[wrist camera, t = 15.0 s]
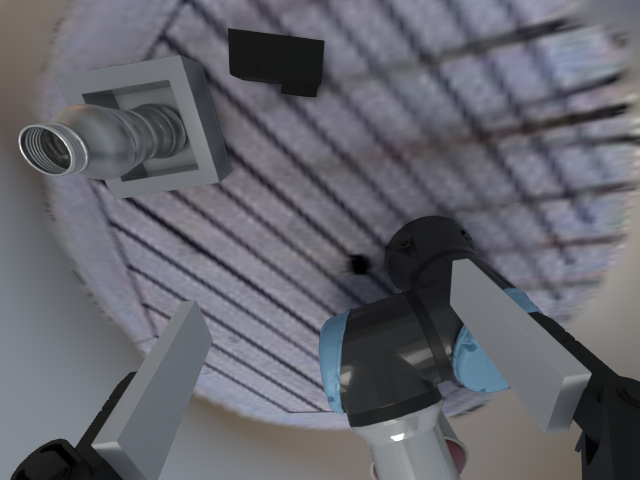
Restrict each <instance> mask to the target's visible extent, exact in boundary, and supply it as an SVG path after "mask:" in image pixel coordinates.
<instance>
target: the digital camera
mask: <svg viewBox="0 0 640 480" xmlns="http://www.w3.org/2000/svg"><path fill="white" fill-rule="evenodd" d="M228 41H229V69H230V74H231V75H232V76H235V77H237V78H239V79H242V80H247V81H255V82H264V83H273V84H281V93H283V94H289V95H297V96H307V97H317V88H318V87H319V86H320V84H321V76H322V64H323V53H324V41H323V40H315V39H307V38H300V37H292V36H284V35H277V34H269V33H261V32H253V31H245V30H237V29H229V28H228Z"/></svg>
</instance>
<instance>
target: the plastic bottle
mask: <svg viewBox="0 0 640 480" xmlns="http://www.w3.org/2000/svg"><path fill="white" fill-rule="evenodd" d="M185 141H186V132H185V128H184V125H183V123H182V121H181V120H180V118H179V117H178V116H177V115H176V114H175V113H174V112H173V111H172V110H170V109H168V108H166V107H164V106H161V105H158V104H155V103H147V104H143V105H139V106H137V107H135V108H133V109H128V110H119V109H111V108H106V107H101V106H97V105H90V104H74V105H71V106H69V107H66V108H65V109H63V110H61V111H60V112H59V113H57V114H56V115H55V117H54V119H53V120H52V122H45V123H42V124H32V125H28V126H26V127H24V128H23V129H22V130H21V132H20V133H19V137H18V144H19V148H20V151H21V153H22V154H23V156H24V158H25V159H26V160H27V162H29V164H30V165H31V166H33V167H34V168H35V169H37V170H38V171H40V172H42V173H44V174H47V175H51V176H63V175H67V174H77V173H79V174H81V175H84V176H86V177H89V178H93V179H104V180H111V179H116V178H118V177H121V176H123V175H125V174H126V173H128V172H129V171H130V170H131V169H133V168H134V167H136V166H137V165H138V164H140V163H142V162H145V161H147V160H150V159H165V158H171V157H173V156H175V155H176V154H178V153H179V152H180V150H181V149H182V148H183V146H184V144H185Z"/></svg>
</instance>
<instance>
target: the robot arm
mask: <svg viewBox="0 0 640 480" xmlns="http://www.w3.org/2000/svg"><path fill="white" fill-rule="evenodd" d="M385 266H386V270H387V272H388V274H389V276H390V278H391V280H392V282H393V283H394V284H395V286H396V287H397V288H399V289H400V290H401V291H403V292H402V293H399V294H396V295H394V296H391V297H388V298H385V299H382V300H379V301H376V302H373V303H370V304H367V305H365V306H362V307H359V308H356V309H352V308H351V309H348V310H347V312H345V313H342V314H340V315H337V316H335V317H332V318H330V319H328V320H327V321H326V322H325V323H324V325H323V326H322V329H321V332H320V338H319V361H320V370H321V376H322V382H323V386H324V390H325V393H326V395H327V397H328V402H329V405H330V407H331V408H332V410H333V411H334V412H336V413H340V414H344V413H346V414H347V417H348V420H349V424H350V428H351V430H352V431H354V432H355V433H357V434H358V435H360V436H361V437H363V438H364V439H365V440H366V441H367V442H368V445H369V448H370V451H371V455H372V458H373V462H374V465H375V469H376V472H377V476H378V479H379V480H461V478H460V476H459V473H458V471H457V468H456V466H455V463H454V461H453V458H452V456H451V453H450V451H449V448H448V446H447V443H446V441H445V438H444V436H443V433H442V431H441V428H440V426H439V423H438V416H439V413H440V410H441V408H442V405H443V399H442V397H441V394H440V392H439V389H438V387H437V384H438V383H440V382H444V381H447V380H450V379H454V378H456V379H457V380H458V381H459V382H460V383H461V384H463V385H464V386H465V387H466V388H468V389H470V390H472V391H475V392H479V391H481V392H484V393H490V392H496V391H500V390H503V389H506V388H508V387H511V388H512V390H513V391H514V392H515V394H516V395H517V396H518V398H519V399H520V400H521V402H522V403H523V405H524V406H525V407H526V409H527V410H528V411H529V413H530V414H531V416H532V417H533V418H534V419H535V421H536V422H537V424H538V425H539V426H540V427H541V429H542V431H543V432H544V433H545V434H547V433H554V432H562V431H568V430H569V428H570V425H571V423H572V421H573V419H574V421H575V422H576V423H577V424H578V425H579V426H580V428H581V429H582V430H583V431H582V434H581V436H580V438H579V440H578V442H577V445H576V448H575V451H577V452H580V450H581V457H582V480H640V382H639V381H637V380H634V379H631V378H627V377H622V376H619V375H617V374H616V373H615V372H614V371H612V370H611V369H610V368H609V367H608V366H607V365H605V364H604V363H603V362H602V361H601V360H599V359H598V358H597V357H596V356H595V355H594V354H593V353H591V352H590V351H589V350H588V349H587V348H585V347H584V346H583V345H582V344H581V343H580V342H579V341H576V340H575V338H574V337H573V336H572V335H570V334H569V333H568V332H565V329H563V328H562V327H561V326H560V325H559V324H558V323H556V322H555V321H554V320H553V319H551V318H549V317H547V316H545V315H544V314H543V313H542V311H541V310H540V309H539V308H538V307H537V306H536V305H535V304H534V303H533V302H532V301H531V300H530V299H529V298H528V296H527V295H526V294H525V293H524V292H523V291H521V290H519V289H517V288H516V287H515V286H514V285H513V284H511V283H510V282H509V281H508V280H507V279H505V278H504V277H503V276H502V275H501V274H500V273H498V272H497V271H496V270H495V269H494V268H492V267H491V266H490V265H489V264H488V263H486V262H485V261H484V260H483V259H482V258H480V257H479V255H478V253H477V250H476V248H475V246H474V243H473V241H472V238H471V237H470V235H469V234H468V232H467V231H466V230H465V229H464V228H462V227H461V226H460V225H459V224H457V223H456V222H454V221H453V220H450V219H448V218H445V217H439V216H430V217H424V218H420V219H417V220H415V221H413V222H411V223H409V224H407V225H406V226H404V227H403V228H402V229H400V230H399V231H398V232H397V233H396V234H395V236H394V237H393V238H392V240H391V241H390V243H389V245H388V247H387V250H386V254H385ZM212 341H213V339H212V336H211V334H210V332H209V329H208V327H207V325H206V322H205V320H204V318H203V315H202V313H201V311H200V308H199V306H198V304H197V301H196V300H193V301H187V302H181V303H180V305H179V307H178V308H177V310H176V311H175V313H174V315H173V316H172V318H171V319H170V321H169V322H168V324H167V326H166V327H165V329H164V330H163V332H162V334H161V335H160V337H159V338H158V340H157V341H156V343H155V345H154V346H153V348H152V349H151V351H150V353H149V354H148V356H147V357H146V359H145V360H144V362H143V364H142V365H141V367H140V368H139V370H138V371H137V372H130V373H129V374H128V375H127V376H126V377H125V378H124V379H123V380H122V381H121V382H120V383H119V384H118V385H117V386H116V388H115V389H114V391H113V392H112V394H111V395H110V397H109V400H107V401H106V403H105V404H104V406H103V407H102V411H100V412H99V413H98V415H97V416H96V418H95V419H94V421H93V422H92V423H91V425H90V426H89V428H88V429H87V431H86V432H85V434H84V435H83V437H82V438H81V440H80V441H79V443H78V444H77V446H76V447H75V448H74V447H73V446H72V445H71V444H70V443H69V442H68V441H67V440H65V439H56V440H53V441H50V442H48V443H46V444H44V445H42V446H41V447H39V448H38V449H36V450H35V451H34V452H32V453H31V454H30V455H29V456H28V457H27V458H26V459H25V460H24V461H23V462H22V463H21V464H20V465H19V466H18V468H17V469H16V471H15V472H14V473H13V475H12V477H11V479H10V480H158V478H159V475H160V473H161V470H162V467H163V465H164V462H165V460H166V458H167V455H168V452H169V450H170V447H171V445H172V442H173V440H174V437H175V434H176V432H177V430H178V427H179V424H180V422H181V419H182V417H183V414H184V412H185V409H186V407H187V404H188V402H189V399H190V397H191V394H192V392H193V389H194V386H195V384H196V381H197V379H198V376H199V374H200V371H201V369H202V366H203V364H204V361H205V359H206V356H207V354H208V351H209V348H210V346H211V343H212Z"/></svg>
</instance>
